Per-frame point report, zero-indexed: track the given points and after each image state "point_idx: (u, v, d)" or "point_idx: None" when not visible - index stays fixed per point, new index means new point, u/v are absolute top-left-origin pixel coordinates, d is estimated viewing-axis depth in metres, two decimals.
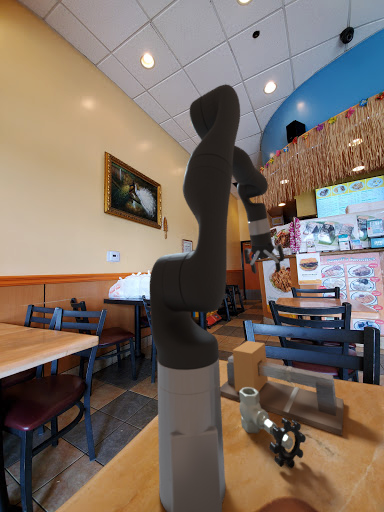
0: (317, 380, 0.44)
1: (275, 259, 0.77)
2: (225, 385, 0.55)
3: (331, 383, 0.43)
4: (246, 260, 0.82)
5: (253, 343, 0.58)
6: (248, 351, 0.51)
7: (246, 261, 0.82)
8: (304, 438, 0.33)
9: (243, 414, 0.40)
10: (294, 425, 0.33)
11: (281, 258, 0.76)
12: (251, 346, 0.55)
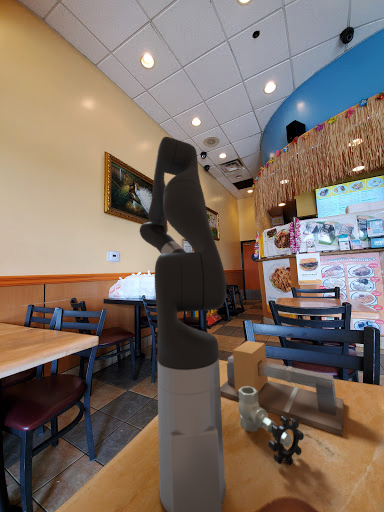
0: (317, 380, 0.44)
1: None
2: (225, 385, 0.55)
3: (331, 383, 0.43)
4: None
5: (253, 343, 0.58)
6: (248, 351, 0.51)
7: None
8: (302, 436, 0.34)
9: (242, 412, 0.40)
10: (292, 423, 0.34)
11: None
12: (251, 346, 0.55)
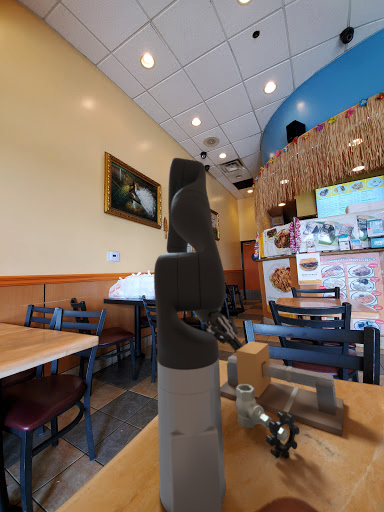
0: (317, 380, 0.44)
1: (232, 333, 0.59)
2: (225, 385, 0.55)
3: (331, 383, 0.43)
4: (225, 334, 0.56)
5: (257, 343, 0.57)
6: (252, 352, 0.51)
7: (226, 335, 0.56)
8: (298, 430, 0.35)
9: (239, 409, 0.41)
10: (289, 418, 0.35)
11: (235, 330, 0.61)
12: (254, 347, 0.54)
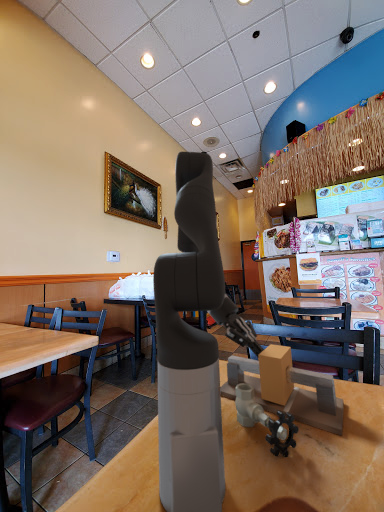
0: (317, 380, 0.44)
1: (251, 335, 0.55)
2: (225, 385, 0.55)
3: (331, 383, 0.43)
4: (245, 337, 0.53)
5: (278, 347, 0.54)
6: (276, 356, 0.47)
7: (246, 338, 0.53)
8: (297, 429, 0.35)
9: (239, 409, 0.41)
10: (288, 417, 0.35)
11: (254, 333, 0.57)
12: (277, 351, 0.51)
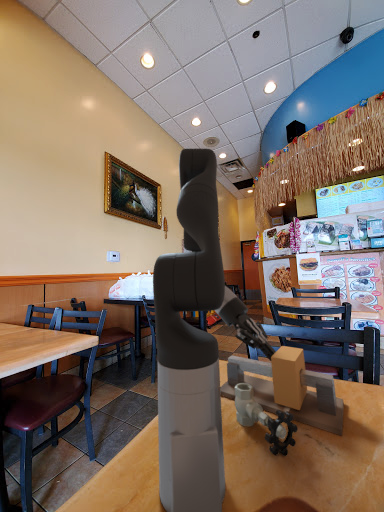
0: (317, 380, 0.44)
1: (262, 337, 0.53)
2: (225, 385, 0.55)
3: (331, 383, 0.43)
4: (256, 339, 0.51)
5: (290, 349, 0.52)
6: (289, 358, 0.46)
7: (257, 340, 0.51)
8: (296, 428, 0.35)
9: (238, 408, 0.42)
10: (287, 416, 0.35)
11: (265, 334, 0.55)
12: (290, 353, 0.49)
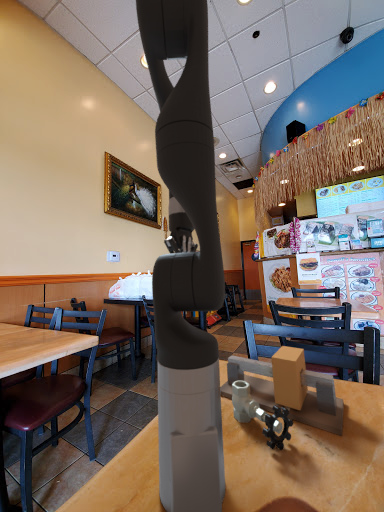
0: (317, 380, 0.44)
1: None
2: (225, 385, 0.55)
3: (331, 383, 0.43)
4: (178, 252, 0.56)
5: (291, 349, 0.52)
6: (290, 358, 0.45)
7: None
8: (292, 422, 0.37)
9: (235, 405, 0.43)
10: (283, 411, 0.37)
11: None
12: (290, 353, 0.49)
